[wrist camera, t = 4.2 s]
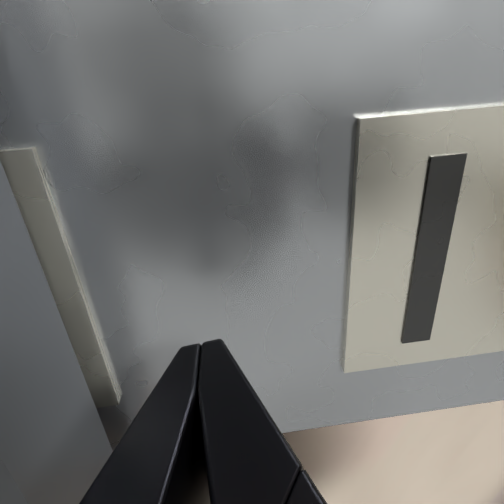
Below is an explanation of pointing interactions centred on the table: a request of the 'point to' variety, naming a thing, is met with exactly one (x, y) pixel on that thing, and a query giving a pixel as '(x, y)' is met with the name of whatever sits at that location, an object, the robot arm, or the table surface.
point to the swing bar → (40, 382)
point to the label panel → (267, 194)
